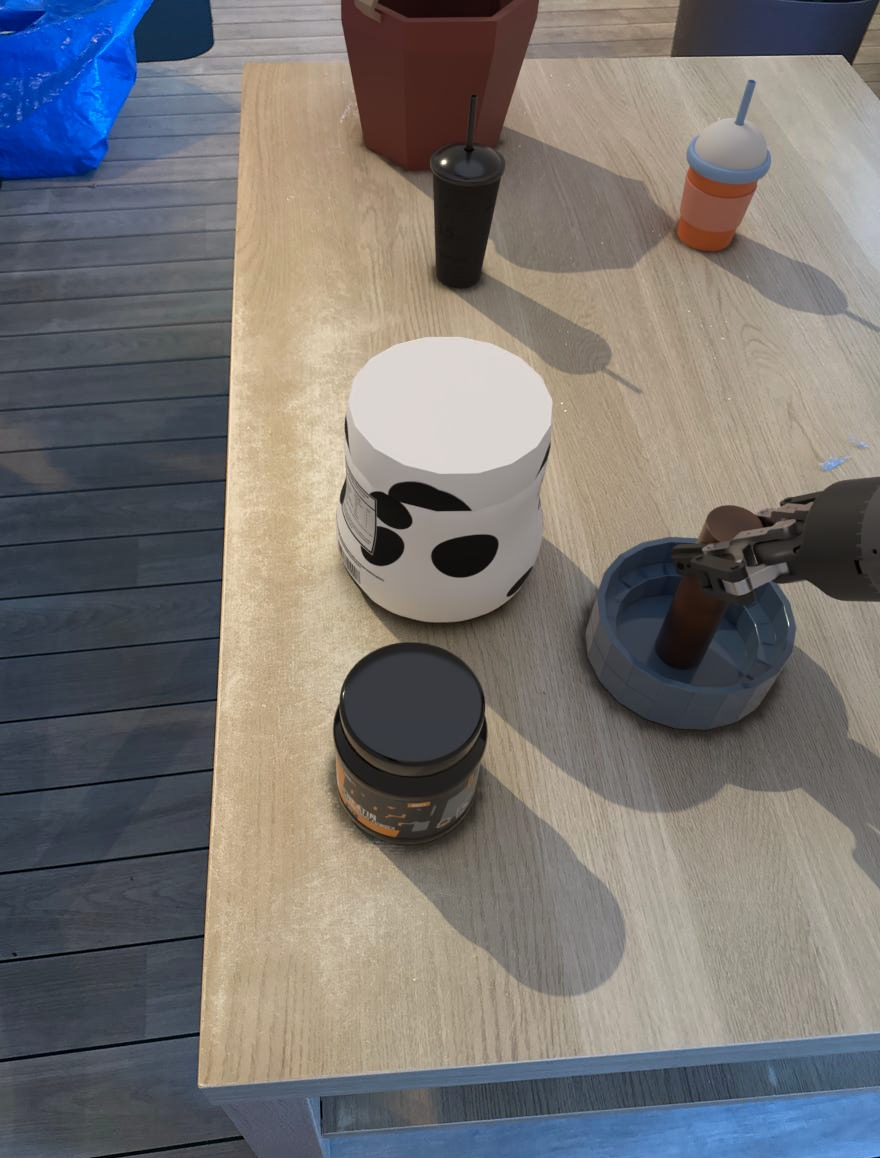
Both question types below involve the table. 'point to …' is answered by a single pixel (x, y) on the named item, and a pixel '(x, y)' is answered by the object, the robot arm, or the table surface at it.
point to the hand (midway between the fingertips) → (698, 546)
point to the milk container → (443, 478)
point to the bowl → (729, 667)
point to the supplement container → (409, 742)
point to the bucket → (433, 70)
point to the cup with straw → (722, 179)
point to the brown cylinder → (700, 596)
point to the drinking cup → (464, 205)
